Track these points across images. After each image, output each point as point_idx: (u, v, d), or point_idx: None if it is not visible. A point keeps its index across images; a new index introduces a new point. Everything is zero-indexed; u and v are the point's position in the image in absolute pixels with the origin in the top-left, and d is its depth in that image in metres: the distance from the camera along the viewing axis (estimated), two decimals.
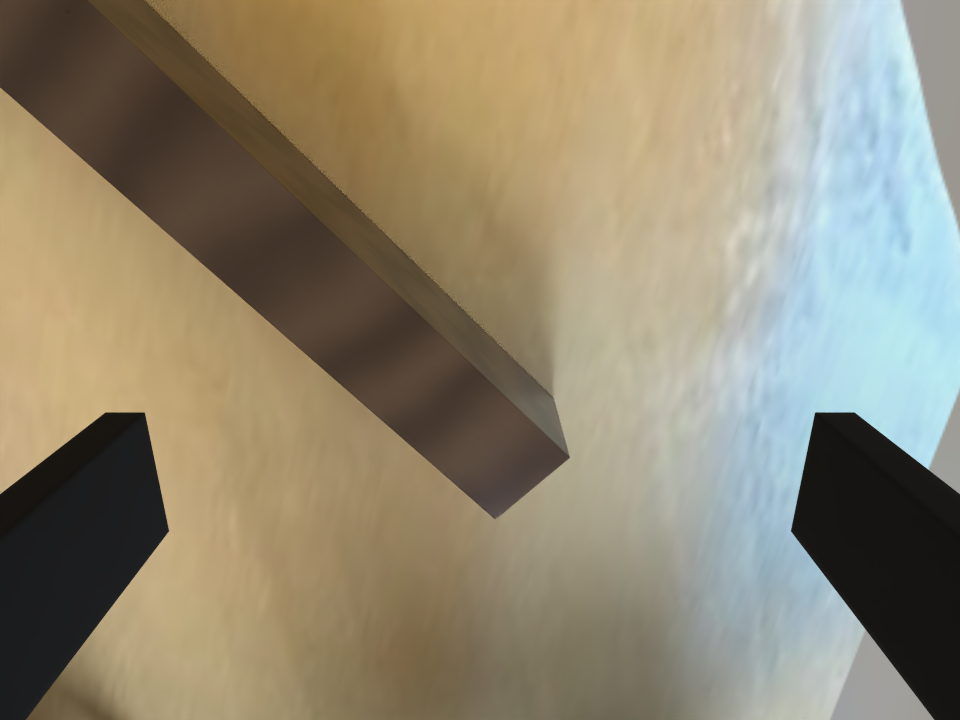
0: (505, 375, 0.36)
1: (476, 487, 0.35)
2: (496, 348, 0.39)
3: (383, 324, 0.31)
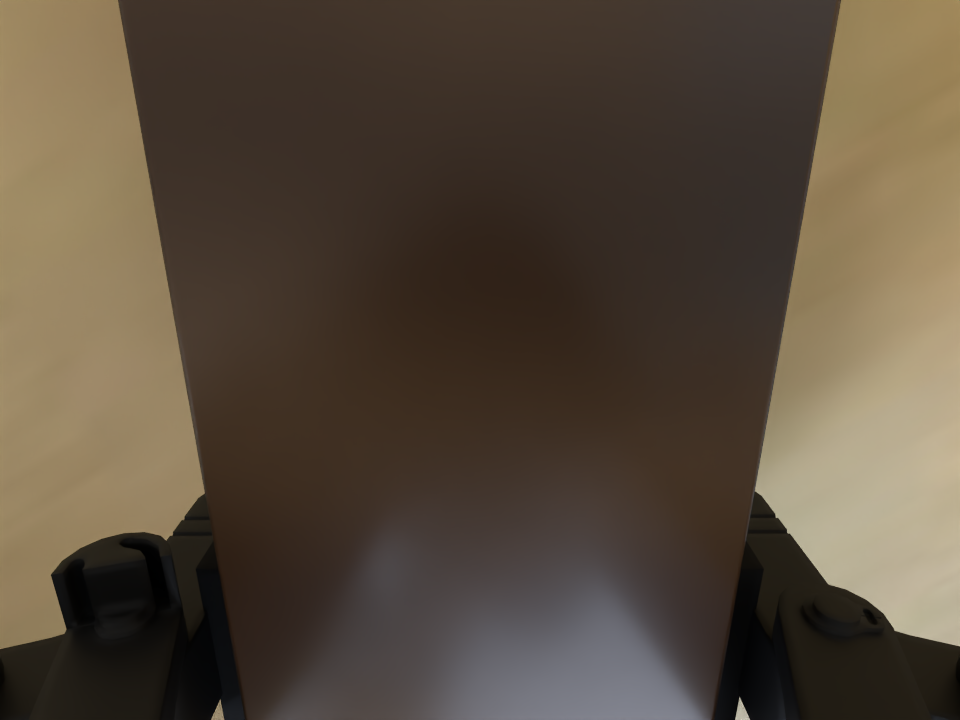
0: None
1: None
2: None
3: (618, 134, 0.05)
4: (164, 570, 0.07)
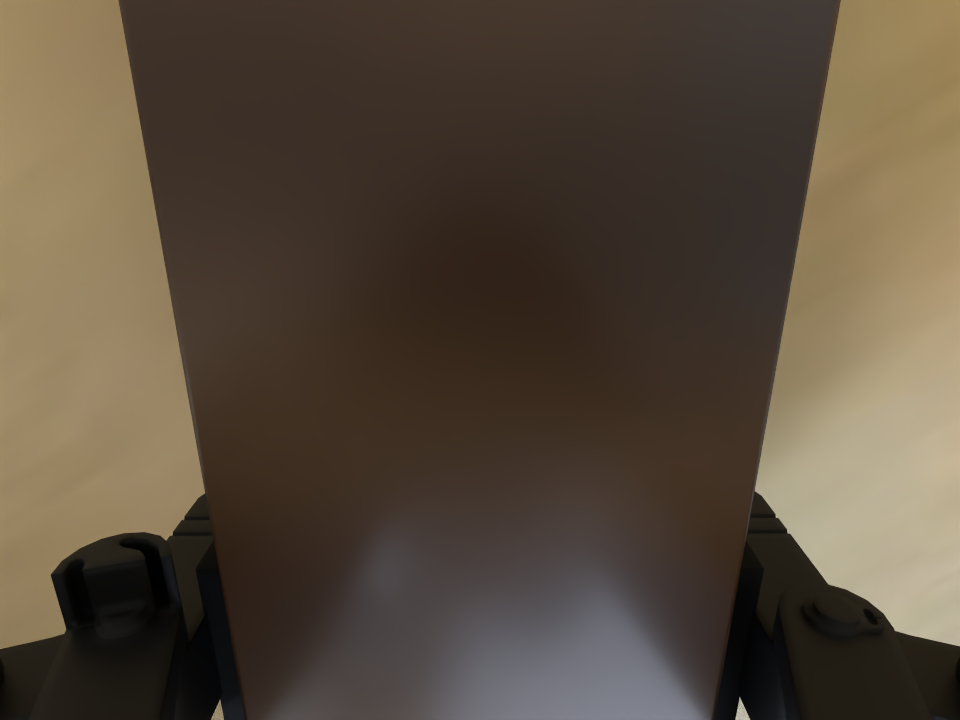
0: None
1: None
2: None
3: (619, 134, 0.05)
4: (164, 570, 0.07)
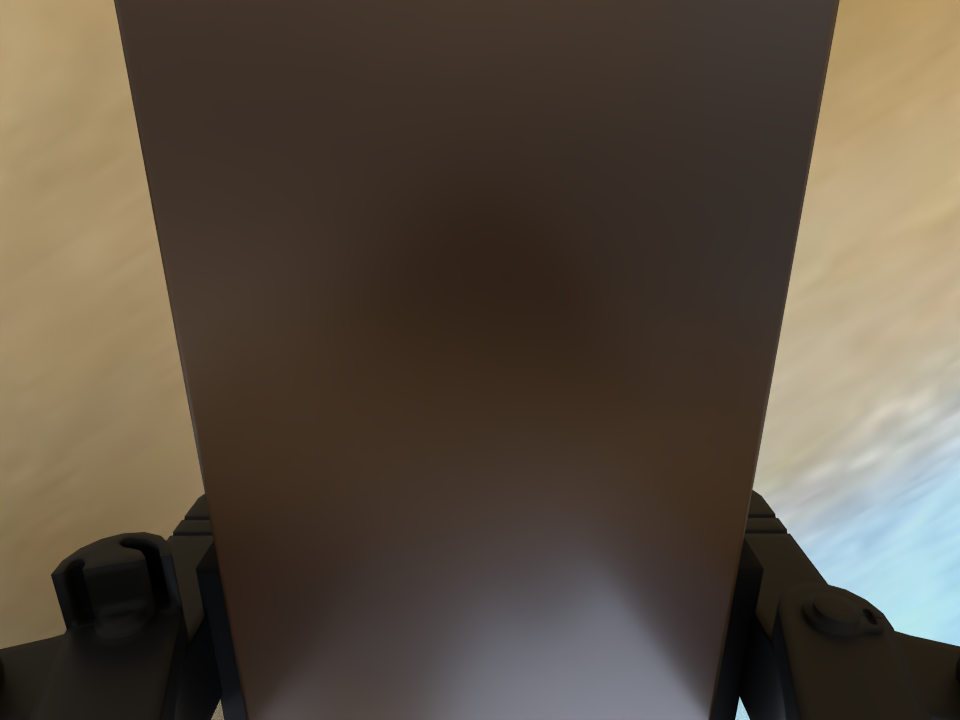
0: None
1: None
2: None
3: (616, 135, 0.05)
4: (164, 570, 0.07)
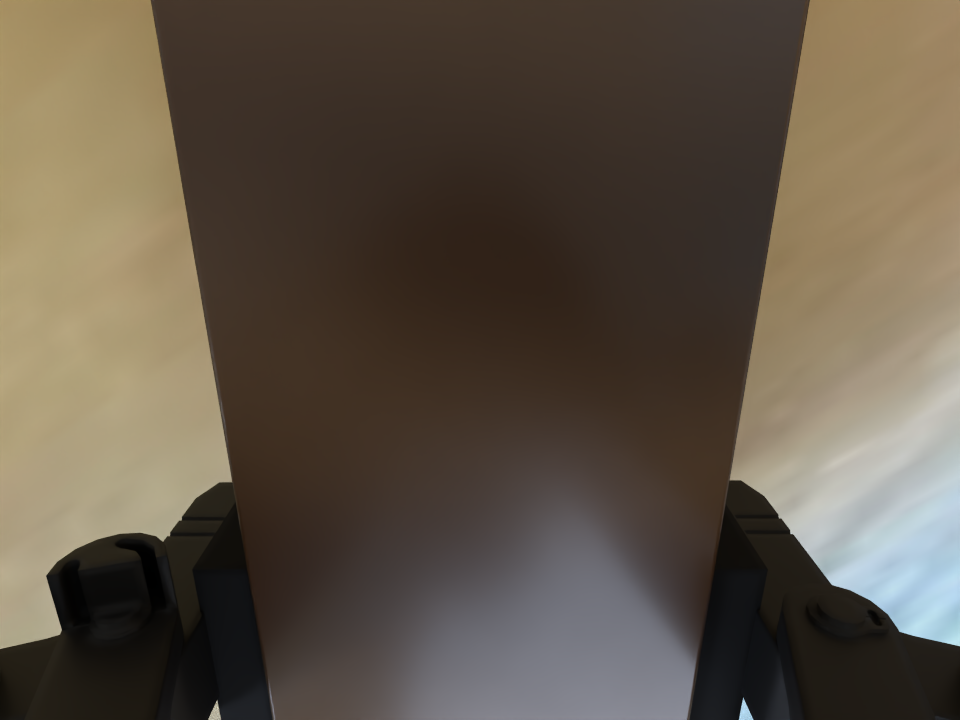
0: None
1: None
2: None
3: (606, 149, 0.06)
4: (160, 571, 0.07)
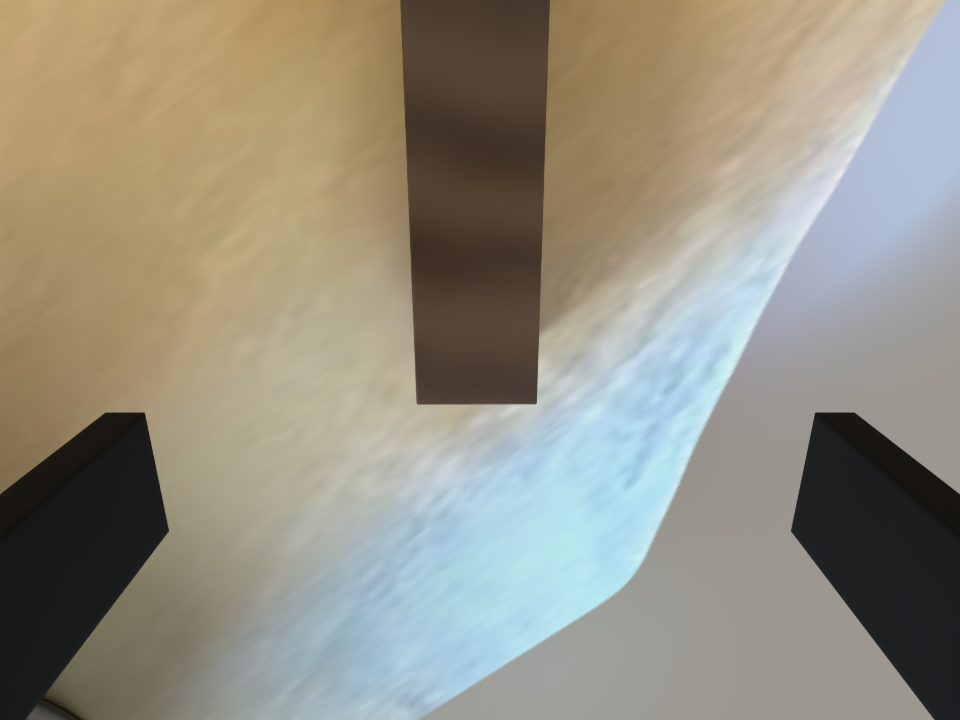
0: None
1: (430, 360, 0.29)
2: None
3: (504, 128, 0.25)
4: None
